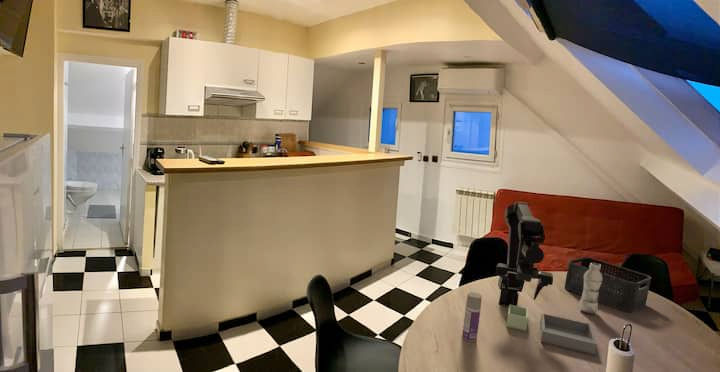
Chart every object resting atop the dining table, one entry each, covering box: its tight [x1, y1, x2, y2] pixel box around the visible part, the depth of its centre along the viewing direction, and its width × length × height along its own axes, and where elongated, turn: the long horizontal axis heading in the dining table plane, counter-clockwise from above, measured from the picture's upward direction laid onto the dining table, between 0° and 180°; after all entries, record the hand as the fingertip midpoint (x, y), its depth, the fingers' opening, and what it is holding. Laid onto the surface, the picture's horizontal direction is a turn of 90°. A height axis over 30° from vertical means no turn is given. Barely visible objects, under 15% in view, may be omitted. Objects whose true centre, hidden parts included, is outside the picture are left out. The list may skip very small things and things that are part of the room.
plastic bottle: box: [578, 262, 603, 314], centre depth 163 cm, size 6×7×20 cm
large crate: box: [539, 312, 598, 357], centre depth 141 cm, size 16×16×4 cm
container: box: [461, 291, 483, 343], centre depth 135 cm, size 5×5×15 cm
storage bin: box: [564, 256, 652, 313], centre depth 182 cm, size 29×19×13 cm
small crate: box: [505, 304, 529, 332], centre depth 148 cm, size 6×9×5 cm
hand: (520, 296), depth 147 cm, fingers open, 9 cm apart
